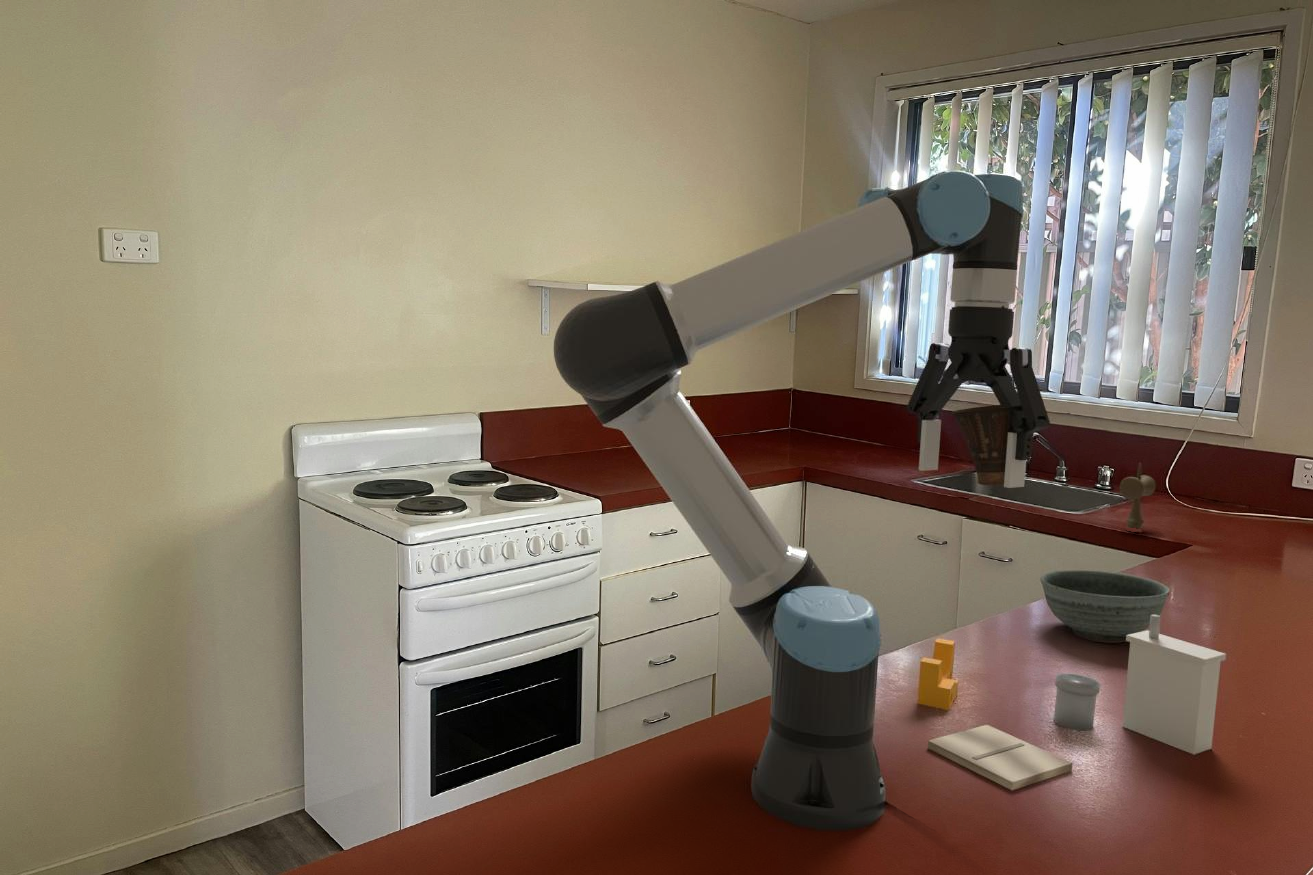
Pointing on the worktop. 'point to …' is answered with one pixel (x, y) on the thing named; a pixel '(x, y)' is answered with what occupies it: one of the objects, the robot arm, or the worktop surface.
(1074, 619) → the bowl
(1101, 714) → the worktop surface
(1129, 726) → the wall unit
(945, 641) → the yellow shaft support bracket
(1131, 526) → the kendama
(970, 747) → the board
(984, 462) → the cup
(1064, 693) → the grey knob
